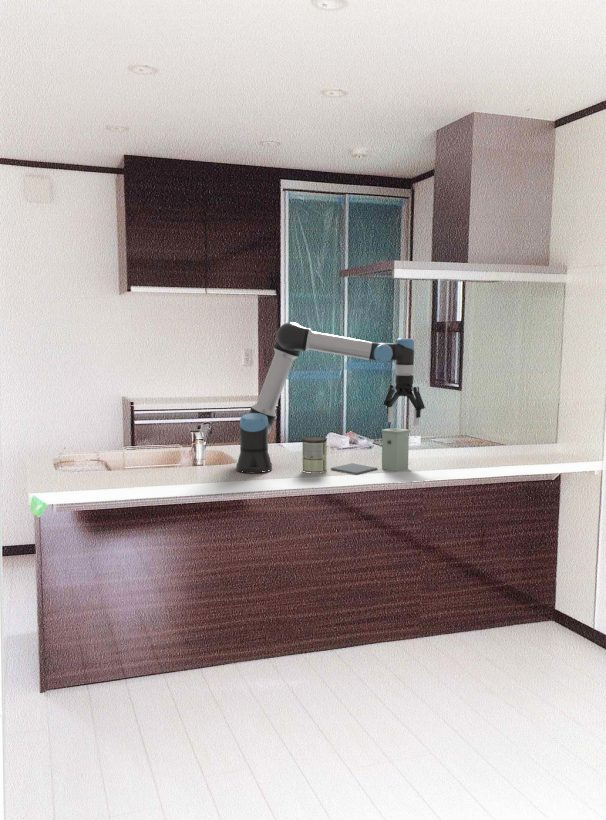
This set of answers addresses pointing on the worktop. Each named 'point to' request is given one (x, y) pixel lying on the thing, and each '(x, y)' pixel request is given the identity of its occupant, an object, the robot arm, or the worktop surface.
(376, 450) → the worktop surface
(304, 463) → the coffee can
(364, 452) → the worktop surface
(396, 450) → the block
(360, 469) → the pad
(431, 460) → the worktop surface
